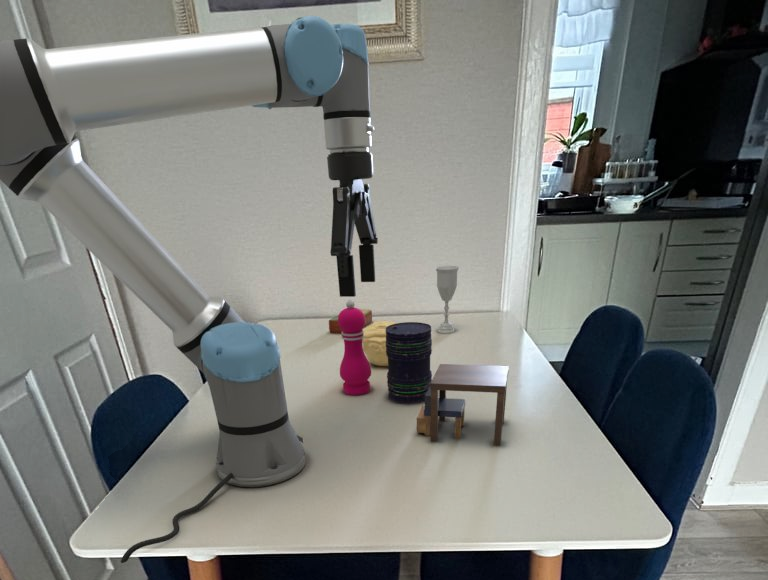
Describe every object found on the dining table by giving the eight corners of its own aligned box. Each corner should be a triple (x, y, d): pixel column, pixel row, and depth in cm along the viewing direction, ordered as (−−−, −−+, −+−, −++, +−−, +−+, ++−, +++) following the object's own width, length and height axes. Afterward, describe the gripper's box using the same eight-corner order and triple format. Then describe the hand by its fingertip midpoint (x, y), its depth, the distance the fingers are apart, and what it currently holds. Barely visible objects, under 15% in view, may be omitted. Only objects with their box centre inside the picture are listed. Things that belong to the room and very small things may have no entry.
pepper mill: (368, 396, 122) (362, 303, 111) (337, 395, 123) (328, 304, 112) (375, 385, 128) (370, 296, 117) (345, 384, 129) (338, 296, 118)
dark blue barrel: (435, 389, 123) (436, 322, 115) (427, 405, 116) (426, 334, 107) (394, 387, 126) (391, 321, 118) (382, 402, 118) (379, 333, 110)
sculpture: (359, 369, 138) (356, 326, 132) (371, 355, 148) (369, 314, 142) (402, 370, 136) (401, 327, 130) (412, 356, 145) (411, 315, 140)
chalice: (431, 329, 168) (431, 267, 159) (451, 326, 170) (452, 264, 160) (440, 335, 162) (441, 270, 153) (461, 332, 164) (463, 268, 154)
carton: (372, 322, 180) (372, 308, 177) (353, 334, 167) (352, 320, 165) (350, 320, 182) (349, 307, 180) (329, 333, 170) (327, 319, 168)
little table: (500, 445, 98) (505, 386, 92) (430, 441, 101) (430, 383, 95) (504, 421, 107) (508, 366, 101) (439, 418, 110) (439, 363, 103)
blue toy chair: (416, 434, 103) (416, 395, 99) (422, 421, 108) (422, 383, 104) (460, 437, 101) (461, 397, 97) (464, 424, 107) (466, 385, 102)
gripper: (348, 149, 78) (359, 303, 89) (389, 150, 98) (393, 276, 109) (300, 152, 79) (316, 303, 91) (349, 153, 100) (357, 276, 111)
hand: (358, 288), depth 100 cm, fingers open, 13 cm apart
